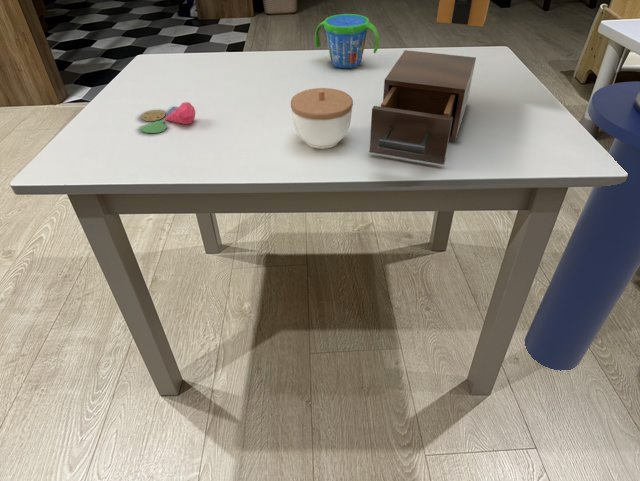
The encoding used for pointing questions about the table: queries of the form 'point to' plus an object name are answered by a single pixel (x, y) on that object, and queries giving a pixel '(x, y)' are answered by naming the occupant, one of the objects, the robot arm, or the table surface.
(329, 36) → the snack cup
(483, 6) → the tan wooden block
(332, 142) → the trinket box
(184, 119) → the toy pieces
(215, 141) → the table surface
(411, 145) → the drawer
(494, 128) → the table surface
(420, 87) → the cabinet
